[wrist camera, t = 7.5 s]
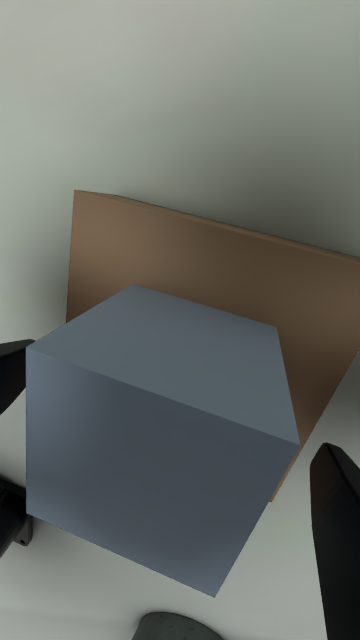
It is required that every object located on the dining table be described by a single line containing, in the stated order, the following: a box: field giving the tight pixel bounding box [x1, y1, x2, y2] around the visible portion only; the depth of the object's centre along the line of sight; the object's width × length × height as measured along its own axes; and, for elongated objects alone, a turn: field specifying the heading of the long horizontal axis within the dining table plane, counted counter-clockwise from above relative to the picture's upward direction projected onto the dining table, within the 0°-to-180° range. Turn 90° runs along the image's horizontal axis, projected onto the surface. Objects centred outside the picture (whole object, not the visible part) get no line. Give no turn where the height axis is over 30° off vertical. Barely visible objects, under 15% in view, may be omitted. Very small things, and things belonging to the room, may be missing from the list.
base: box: [66, 190, 360, 502], centre depth 12 cm, size 10×10×3 cm
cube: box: [26, 284, 300, 598], centre depth 8 cm, size 5×5×5 cm
